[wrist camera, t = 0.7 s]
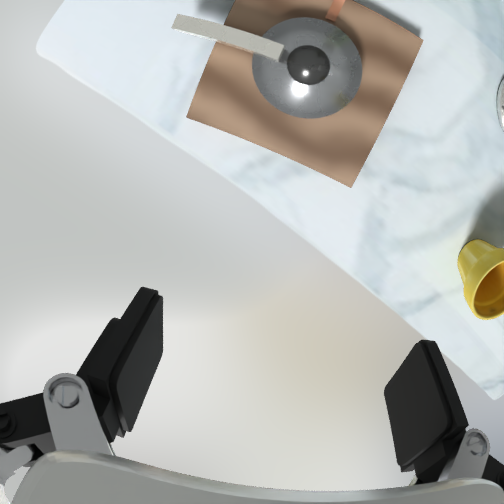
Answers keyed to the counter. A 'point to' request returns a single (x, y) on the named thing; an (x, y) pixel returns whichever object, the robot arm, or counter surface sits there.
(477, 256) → the plant pot
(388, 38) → the dial board
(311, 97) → the dial
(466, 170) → the counter surface
